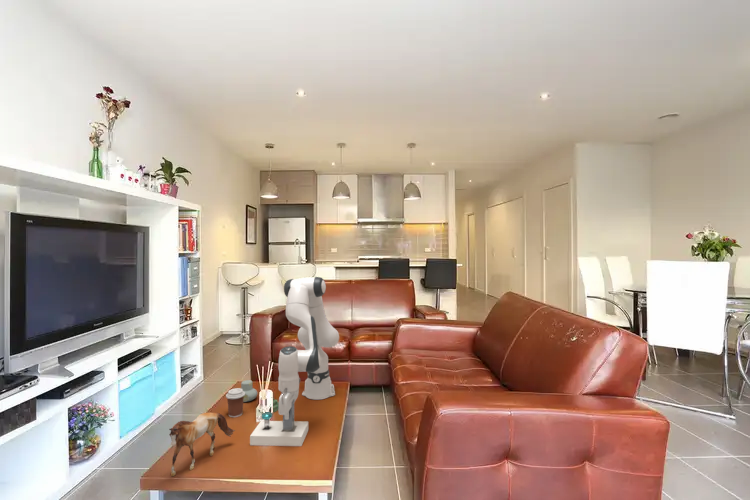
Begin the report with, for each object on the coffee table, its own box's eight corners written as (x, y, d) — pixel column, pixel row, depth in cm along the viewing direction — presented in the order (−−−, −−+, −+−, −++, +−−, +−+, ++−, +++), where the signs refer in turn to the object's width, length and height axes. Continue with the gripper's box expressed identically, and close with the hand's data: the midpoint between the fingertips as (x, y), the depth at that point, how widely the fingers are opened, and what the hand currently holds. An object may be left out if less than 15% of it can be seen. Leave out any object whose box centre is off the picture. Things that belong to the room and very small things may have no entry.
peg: (285, 425, 172) (285, 398, 171) (294, 425, 171) (294, 398, 171) (282, 429, 168) (282, 402, 167) (292, 429, 167) (292, 402, 167)
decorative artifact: (279, 412, 196) (278, 404, 205) (279, 398, 195) (278, 391, 205) (258, 414, 193) (259, 406, 202) (258, 401, 193) (259, 393, 202)
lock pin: (263, 426, 172) (263, 412, 172) (273, 426, 172) (273, 412, 172) (260, 431, 168) (260, 416, 168) (270, 431, 168) (270, 416, 168)
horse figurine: (173, 486, 136) (172, 428, 136) (157, 481, 139) (156, 424, 138) (235, 443, 165) (235, 396, 164) (221, 440, 168) (220, 393, 167)
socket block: (261, 429, 177) (261, 420, 177) (308, 430, 176) (308, 421, 176) (250, 445, 163) (250, 435, 163) (301, 446, 162) (301, 436, 162)
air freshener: (233, 402, 208) (233, 383, 208) (242, 396, 216) (242, 378, 216) (252, 403, 206) (251, 385, 206) (259, 397, 214) (259, 379, 214)
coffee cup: (236, 419, 187) (236, 395, 187) (221, 416, 190) (221, 392, 190) (249, 412, 196) (248, 388, 195) (234, 409, 199) (234, 386, 199)
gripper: (289, 394, 159) (289, 427, 159) (301, 377, 179) (301, 406, 179) (274, 393, 159) (274, 427, 159) (287, 376, 179) (287, 406, 180)
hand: (288, 416), depth 169 cm, fingers closed on peg, 4 cm apart
